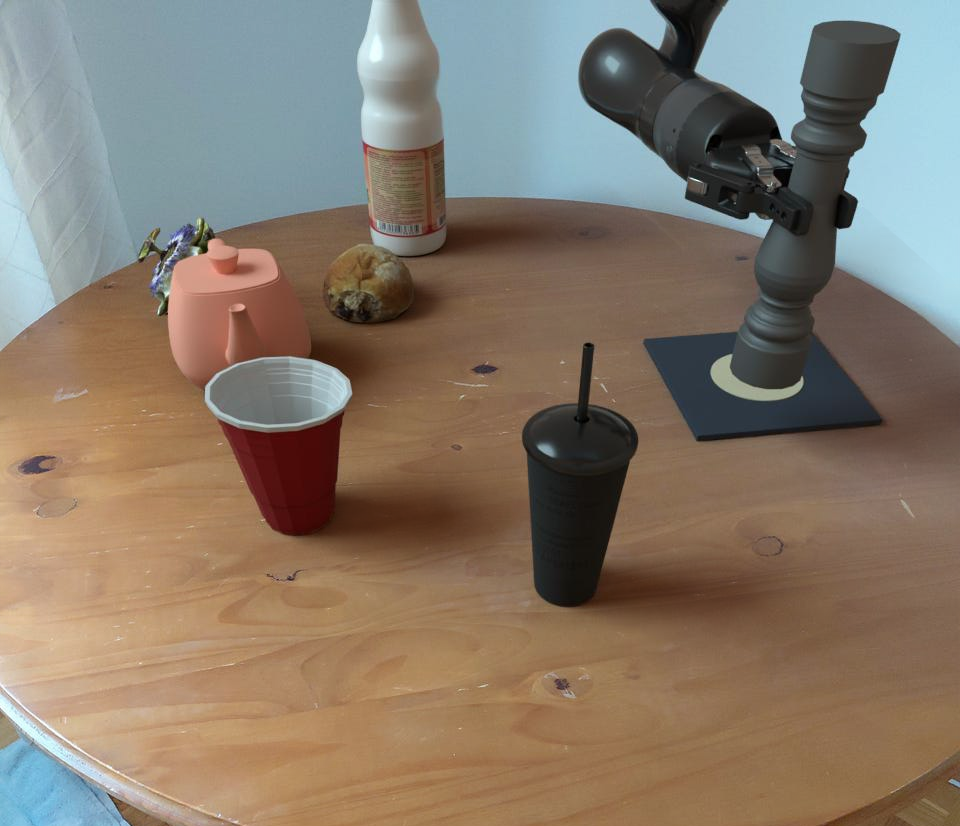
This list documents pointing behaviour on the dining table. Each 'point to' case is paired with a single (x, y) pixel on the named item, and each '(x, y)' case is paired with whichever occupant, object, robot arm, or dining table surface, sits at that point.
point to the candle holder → (812, 198)
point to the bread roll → (368, 285)
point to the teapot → (232, 312)
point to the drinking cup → (575, 490)
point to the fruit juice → (402, 130)
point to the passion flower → (174, 256)
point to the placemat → (754, 391)
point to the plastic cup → (284, 435)
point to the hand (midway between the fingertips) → (828, 218)
